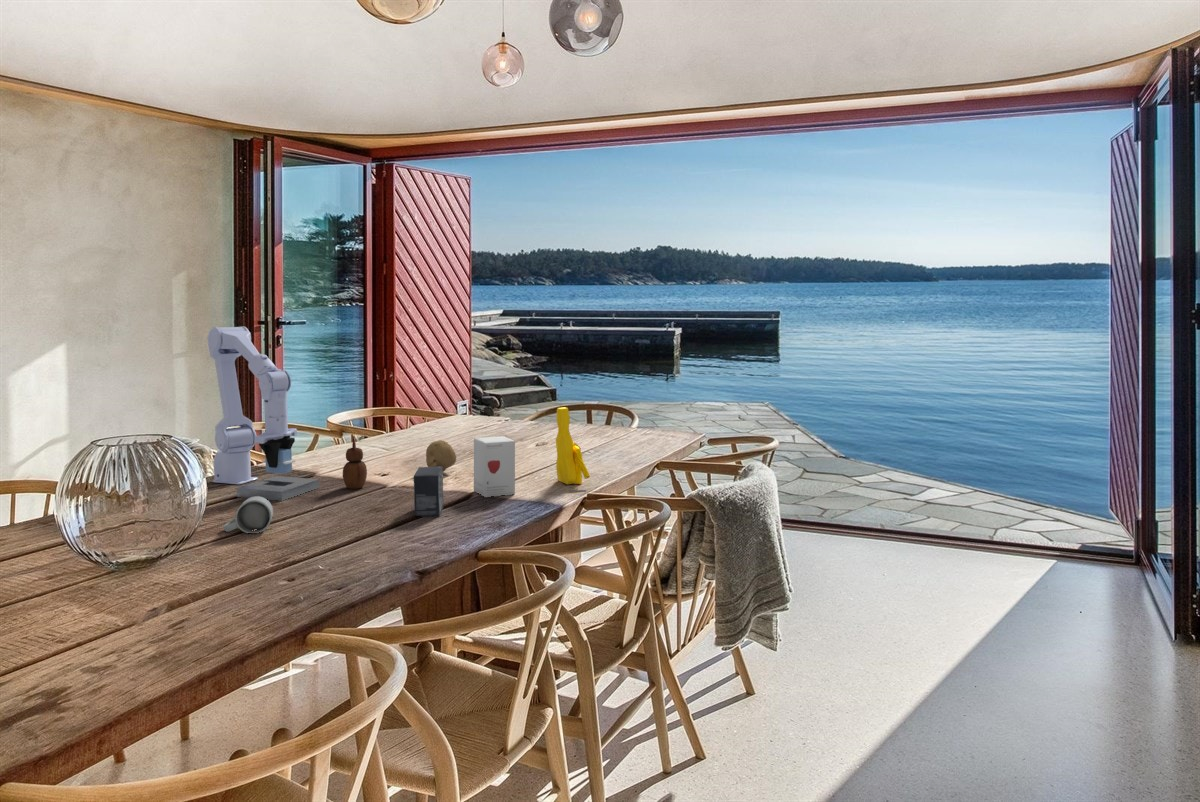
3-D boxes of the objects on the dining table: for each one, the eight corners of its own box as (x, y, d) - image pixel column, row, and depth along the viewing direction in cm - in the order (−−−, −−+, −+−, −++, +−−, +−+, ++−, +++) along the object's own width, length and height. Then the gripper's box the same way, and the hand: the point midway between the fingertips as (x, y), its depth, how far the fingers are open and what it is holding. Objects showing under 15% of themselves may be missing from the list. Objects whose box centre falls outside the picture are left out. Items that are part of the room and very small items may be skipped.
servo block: (262, 471, 235) (261, 449, 235) (271, 469, 239) (270, 447, 238) (287, 473, 233) (286, 451, 232) (295, 471, 237) (294, 449, 236)
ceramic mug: (274, 523, 205) (272, 491, 204) (272, 532, 197) (270, 499, 196) (225, 527, 202) (223, 495, 201) (221, 537, 194) (219, 503, 193)
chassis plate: (237, 497, 231) (236, 487, 231) (276, 484, 246) (275, 475, 246) (281, 501, 227) (281, 491, 227) (318, 488, 242) (318, 479, 242)
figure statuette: (595, 487, 246) (596, 410, 244) (570, 490, 243) (571, 412, 240) (567, 475, 262) (568, 403, 259) (543, 478, 258) (544, 404, 256)
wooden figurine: (359, 491, 240) (357, 437, 238) (339, 489, 241) (338, 436, 239) (370, 485, 246) (369, 433, 244) (351, 484, 247) (350, 432, 245)
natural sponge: (459, 470, 268) (459, 438, 267) (451, 476, 259) (451, 443, 258) (430, 469, 269) (430, 437, 268) (422, 475, 260) (421, 442, 259)
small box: (418, 506, 223) (417, 466, 222) (444, 506, 223) (443, 466, 222) (413, 517, 212) (412, 474, 211) (440, 516, 213) (439, 474, 212)
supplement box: (484, 498, 233) (483, 442, 231) (473, 491, 241) (472, 437, 239) (516, 494, 237) (515, 440, 235) (503, 488, 245) (503, 435, 243)
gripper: (271, 420, 226) (273, 471, 228) (305, 413, 240) (307, 461, 242) (248, 419, 228) (250, 470, 230) (283, 412, 242) (285, 460, 244)
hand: (278, 465), depth 236 cm, fingers closed on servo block, 4 cm apart
